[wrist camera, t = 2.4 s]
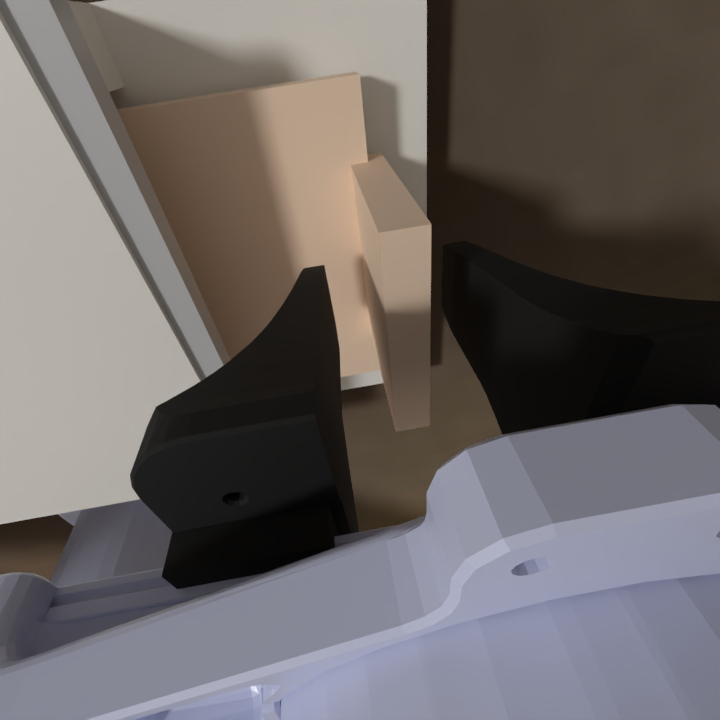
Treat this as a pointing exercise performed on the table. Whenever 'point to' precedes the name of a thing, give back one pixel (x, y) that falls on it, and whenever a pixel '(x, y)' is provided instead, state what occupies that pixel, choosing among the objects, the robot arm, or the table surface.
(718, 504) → the robot arm
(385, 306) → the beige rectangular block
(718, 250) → the table surface
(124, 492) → the ticket dispenser
